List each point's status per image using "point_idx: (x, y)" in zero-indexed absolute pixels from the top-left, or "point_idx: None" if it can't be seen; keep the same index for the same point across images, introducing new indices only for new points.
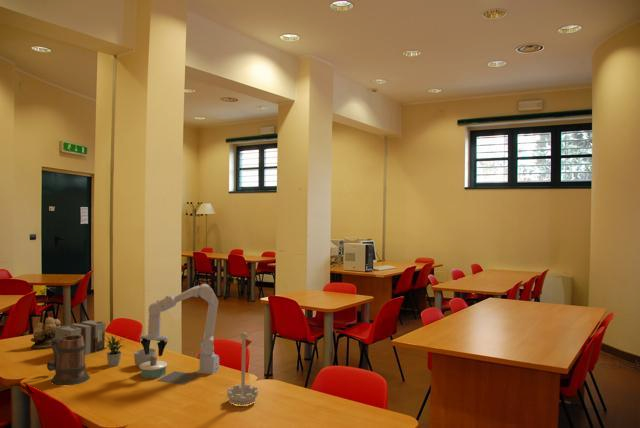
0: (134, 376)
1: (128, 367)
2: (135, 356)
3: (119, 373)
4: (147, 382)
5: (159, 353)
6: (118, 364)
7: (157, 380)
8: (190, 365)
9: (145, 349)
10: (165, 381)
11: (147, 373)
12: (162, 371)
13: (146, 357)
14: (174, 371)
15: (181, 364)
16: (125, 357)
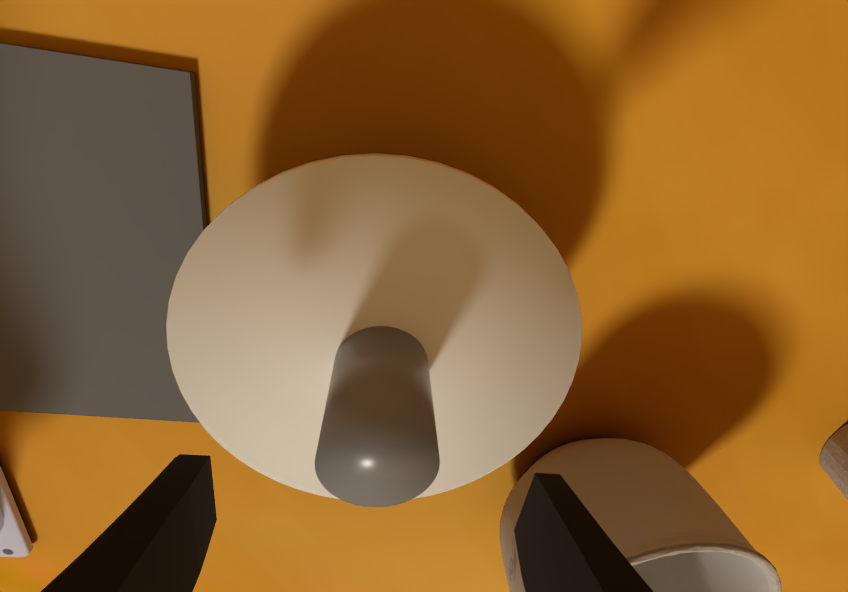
0: (576, 203)
1: (719, 421)
2: (728, 525)
3: (776, 256)
4: (298, 8)
5: (138, 510)
6: (828, 450)
7: (186, 91)
8: (202, 568)
9: (603, 585)
10: (42, 73)
11: None
12: None
13: None
14: None
15: (291, 568)
16: (791, 578)
